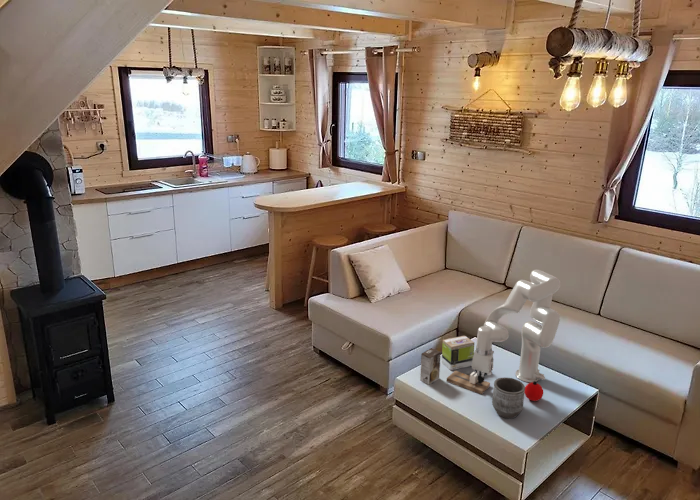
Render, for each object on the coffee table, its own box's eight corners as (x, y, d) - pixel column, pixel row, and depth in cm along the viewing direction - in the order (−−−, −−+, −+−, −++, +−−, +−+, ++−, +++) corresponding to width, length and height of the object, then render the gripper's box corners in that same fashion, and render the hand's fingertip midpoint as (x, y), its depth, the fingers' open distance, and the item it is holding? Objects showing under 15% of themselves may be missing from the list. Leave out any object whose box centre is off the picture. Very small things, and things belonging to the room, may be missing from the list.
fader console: (489, 386, 273) (490, 382, 272) (481, 394, 265) (482, 390, 265) (455, 373, 284) (455, 370, 284) (446, 381, 277) (446, 377, 276)
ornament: (520, 399, 261) (522, 381, 258) (528, 392, 267) (530, 375, 264) (537, 406, 255) (539, 388, 252) (545, 399, 261) (547, 382, 258)
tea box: (463, 358, 301) (465, 334, 297) (473, 366, 292) (475, 342, 288) (440, 362, 296) (442, 338, 292) (450, 370, 287) (451, 346, 283)
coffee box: (429, 374, 284) (431, 347, 279) (439, 378, 279) (441, 351, 275) (419, 380, 278) (420, 353, 273) (429, 385, 273) (430, 357, 269)
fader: (478, 381, 273) (478, 373, 272) (474, 384, 270) (475, 376, 269) (472, 379, 275) (473, 371, 273) (469, 382, 272) (470, 374, 270)
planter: (493, 401, 259) (496, 374, 255) (523, 407, 254) (526, 380, 250) (489, 417, 247) (492, 389, 243) (520, 424, 242) (523, 396, 237)
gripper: (500, 351, 263) (497, 383, 268) (473, 343, 271) (470, 374, 277) (494, 357, 257) (491, 390, 262) (466, 348, 266) (464, 380, 271)
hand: (480, 382), depth 270 cm, fingers closed
